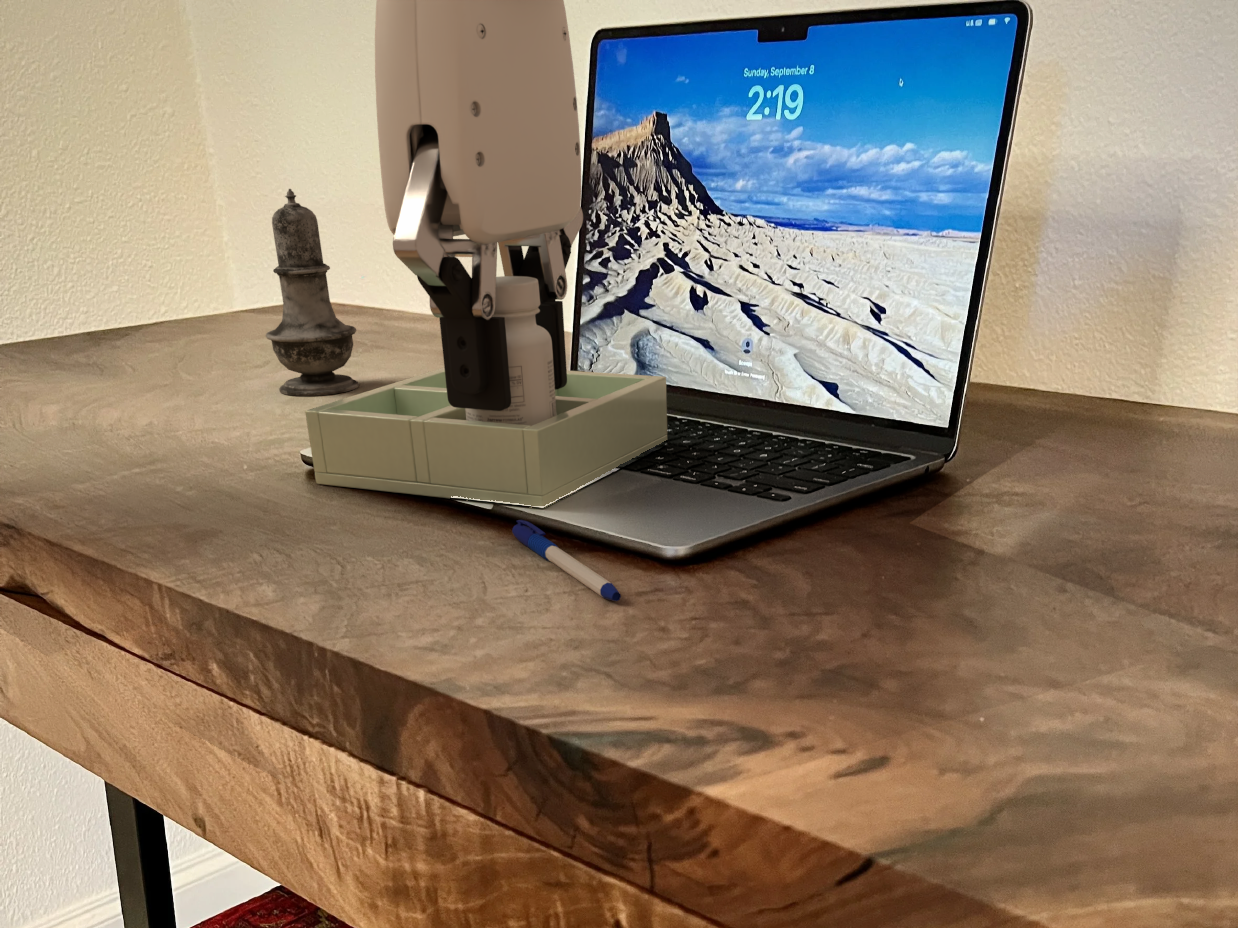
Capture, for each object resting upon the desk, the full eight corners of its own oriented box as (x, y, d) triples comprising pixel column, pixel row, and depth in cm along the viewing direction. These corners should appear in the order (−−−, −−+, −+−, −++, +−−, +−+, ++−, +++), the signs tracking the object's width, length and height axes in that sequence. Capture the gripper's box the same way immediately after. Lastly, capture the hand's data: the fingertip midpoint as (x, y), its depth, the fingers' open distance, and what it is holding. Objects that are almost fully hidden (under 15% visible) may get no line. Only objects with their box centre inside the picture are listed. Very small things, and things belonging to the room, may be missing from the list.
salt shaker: (381, 383, 91) (356, 185, 85) (319, 399, 87) (288, 192, 81) (319, 377, 94) (290, 185, 88) (256, 392, 90) (221, 191, 83)
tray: (315, 484, 68) (304, 410, 66) (462, 428, 78) (455, 363, 76) (543, 509, 63) (537, 430, 61) (668, 445, 73) (666, 376, 71)
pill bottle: (520, 436, 69) (507, 272, 65) (576, 448, 66) (567, 278, 62) (451, 452, 66) (434, 282, 62) (507, 466, 63) (493, 288, 59)
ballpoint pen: (506, 539, 59) (504, 517, 58) (524, 536, 59) (522, 514, 59) (610, 607, 51) (609, 581, 50) (631, 603, 51) (630, 577, 51)
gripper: (503, -44, 63) (532, 362, 73) (266, -71, 50) (338, 428, 60) (645, -56, 60) (656, 370, 70) (431, -87, 47) (480, 441, 57)
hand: (509, 392), depth 65 cm, fingers closed on pill bottle, 4 cm apart
